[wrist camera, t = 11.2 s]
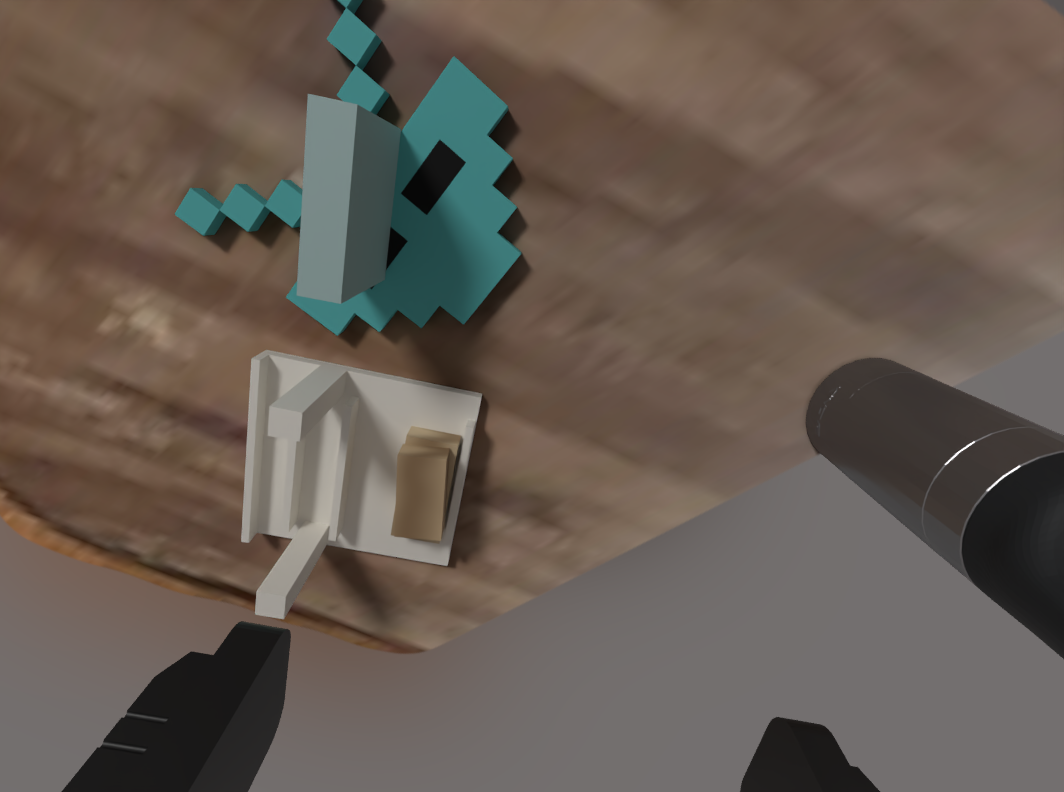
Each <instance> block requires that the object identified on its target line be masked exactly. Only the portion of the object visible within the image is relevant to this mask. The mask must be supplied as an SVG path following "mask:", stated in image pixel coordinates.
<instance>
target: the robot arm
mask: <svg viewBox="0 0 1064 792" xmlns="http://www.w3.org/2000/svg"><path fill="white" fill-rule="evenodd" d="M806 427H807V433H808V436H809V438H810V440H811V443H812V444H813V445H814V447H815V448H816V449H817V450H818V451H819V452H820V453H821V454H822V455H823V456H824V457H826V458H827V459H828V460H829V461H830V462H831V463H833V464H834V465H835V466H836V467H837V468H838V469H840V470H841V471H842V472H843V473H844V474H845V475H846V476H848V477H849V478H850V479H851V480H852V481H854V482H855V483H856V484H857V485H858V486H859V487H860V488H861V489H863V490H864V491H865V492H866V493H867V494H868V495H870V496H871V497H872V498H873V499H874V500H876V501H877V502H878V503H879V504H881V506H883V507H884V508H885V509H886V510H887V511H888V512H890V513H891V514H892V515H893V516H894V517H895V518H897V519H898V520H899V521H900V522H901V523H903V524H904V525H905V526H906V527H907V528H908V529H910V530H911V531H912V532H913V533H914V534H915V535H916V536H918V537H919V538H920V539H921V540H922V541H923V542H925V543H926V544H927V545H928V546H929V547H930V548H932V549H933V550H934V551H935V552H936V553H938V554H939V555H940V556H941V557H943V558H944V559H945V560H946V561H947V562H949V563H950V564H951V565H952V566H953V567H954V568H955V569H957V570H958V571H959V572H960V573H961V574H962V575H964V576H965V577H966V578H967V579H968V580H969V581H971V582H972V583H973V584H974V585H975V586H977V587H978V588H979V589H980V590H981V591H982V592H984V593H985V594H986V595H987V596H988V597H990V598H991V599H992V600H993V601H994V602H996V603H997V604H998V605H999V606H1001V607H1002V608H1003V609H1004V610H1006V611H1007V612H1008V613H1009V614H1010V615H1012V616H1013V617H1014V618H1015V619H1017V620H1018V621H1019V622H1020V623H1022V624H1023V625H1024V626H1025V627H1026V628H1028V629H1029V630H1030V631H1031V632H1033V633H1034V634H1035V635H1036V636H1037V637H1039V638H1040V639H1041V640H1042V641H1043V642H1044V643H1046V644H1047V645H1048V646H1049V647H1050V648H1051V649H1053V650H1054V651H1055V652H1056V653H1057V654H1059V655H1060V656H1061V657H1062V658H1063V659H1064V435H1062V434H1059V433H1057V432H1054V431H1052V430H1049V429H1047V428H1045V427H1043V426H1040V425H1038V424H1036V423H1034V422H1031V421H1029V420H1027V419H1024V418H1022V417H1020V416H1017V415H1015V414H1013V413H1011V412H1008V411H1006V410H1004V409H1002V408H999V407H997V406H995V405H992V404H990V403H988V402H985V401H983V400H981V399H979V398H976V397H974V396H972V395H969V394H967V393H965V392H962V391H960V390H958V389H956V388H953V387H951V386H949V385H946V384H944V383H942V382H940V381H937V380H935V379H933V378H931V377H929V376H926V375H924V374H922V373H919V372H917V371H915V370H912V369H910V368H908V367H906V366H903V365H901V364H899V363H896V362H894V361H891V360H887V359H882V358H867V359H862V360H857V361H854V362H852V363H849V364H846V365H844V366H842V367H841V368H839V369H838V370H836V371H834V372H833V373H832V374H831V375H829V376H828V377H827V378H826V379H825V380H824V381H823V382H822V383H821V384H820V386H819V387H818V388H817V390H816V391H815V393H814V395H813V397H812V398H811V400H810V403H809V406H808V410H807V415H806ZM290 638H291V634H290V630H288V629H283V628H277V627H271V626H265V625H260V624H254V623H248V622H243V621H241V622H239V623H238V624H236V626H235V627H234V628H233V629H232V630H231V632H230V633H229V634H228V636H227V637H226V639H225V640H224V642H223V643H222V644H221V646H220V647H219V648H218V650H217V651H216V653H215V654H214V655H209V654H203V653H197V652H190V653H188V654H187V655H185V656H184V657H183V658H181V659H180V660H179V661H177V662H175V663H174V664H172V665H171V666H170V667H168V668H167V669H165V670H164V671H162V672H161V673H160V674H158V675H157V676H155V677H154V678H153V679H152V681H151V682H150V683H149V684H148V686H147V687H146V688H145V689H144V691H143V692H142V693H141V694H140V696H139V697H138V698H137V699H136V701H135V702H134V703H133V704H132V705H131V707H130V708H129V709H128V710H127V714H126V716H125V717H124V718H121V719H120V720H119V722H118V723H117V724H116V725H115V727H114V728H113V729H112V730H111V731H110V733H109V734H108V735H107V736H106V738H105V739H104V741H103V744H102V746H101V747H100V748H97V749H96V750H95V751H94V753H93V754H92V755H91V756H90V757H89V759H88V760H87V761H86V762H85V764H84V765H83V766H82V767H81V769H80V770H79V771H78V772H77V773H76V775H75V776H74V777H73V778H72V780H71V781H70V782H69V783H68V785H67V786H66V787H65V788H64V790H63V791H62V792H248V790H249V788H250V786H251V784H252V782H253V780H254V778H255V776H256V774H257V772H258V770H259V768H260V766H261V764H262V762H263V760H264V758H265V756H266V754H267V752H268V750H269V747H270V745H271V743H272V741H273V738H274V736H275V733H276V730H277V728H278V725H279V721H280V718H281V714H282V710H283V706H284V700H285V690H286V680H287V670H288V660H289V649H290ZM740 792H880V791H879V790H878V789H877V788H876V787H875V786H874V785H873V783H872V782H871V781H870V780H869V779H868V778H867V777H866V776H865V775H864V774H863V773H862V771H861V770H860V769H859V768H858V767H853V766H850V765H849V763H848V761H847V759H846V758H845V756H844V754H843V752H842V750H841V749H840V747H839V745H838V743H837V742H836V740H835V738H834V736H833V735H832V733H831V732H830V731H829V730H828V729H827V728H826V727H825V726H823V725H820V724H814V723H809V722H803V721H798V720H792V719H786V718H780V717H776V718H774V719H772V721H771V722H770V723H769V725H768V727H767V729H766V731H765V733H764V735H763V737H762V740H761V742H760V744H759V746H758V748H757V750H756V753H755V754H754V756H753V759H752V761H751V763H750V765H749V767H748V769H747V772H746V773H745V776H744V778H743V781H742V785H741V791H740Z"/></svg>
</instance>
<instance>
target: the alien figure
mask: <svg viewBox="0 0 1064 792" xmlns="http://www.w3.org/2000/svg"><path fill="white" fill-rule="evenodd" d="M337 1H338V2H339V3H340V4H341V5H343V6H344V7H345V8H346V9H345V11H344V12H343V14H342V16H341V17H340V19H339V20H338V22H337V24H336V25H335V27H334V28H333V30H332V32H331V33H330V35H329V36H328V38H327V40H328V41H329V42H330V43H331V44H332V45H334V46H335V47H336V48H337V49H338V50H339V51H340V52H341V53H343V54H344V55H345V56H346V57H347V58H348V59H349V60H351V61H352V62H353V63H354V64H355V65H356V66H355V68H354V69H353V71H352V72H351V74H350V75H349V77H348V79H347V80H346V82H345V83H344V85H343V86H342V88H341V89H340V91H339V92H338V94H337V96H338V97H339V98H341V99H342V100H343V101H344V102H349V103H353V104H358V105H359V106H361V107H363V108H365V109H366V110H368V111H370V112H372V113H373V114H375V115H377V113H378V112H379V110H380V109H381V107H382V106H383V104H384V103H385V101H386V100H387V98H388V97H389V96H390V94H389V93H387V92H386V91H385V90H384V89H383V88H382V87H381V86H379V85H378V84H377V83H376V82H375V81H374V80H373V79H372V78H370V77H369V76H368V75H367V74H366V73H365V72H364V71H363V69H364V67H365V66H366V64H367V63H368V61H369V60H370V58H371V57H372V55H373V54H374V52H375V51H376V49H377V48H378V46H379V45H380V43H381V40H380V38H379V37H378V36H377V35H376V34H375V33H374V32H373V31H372V30H370V29H369V28H368V27H367V26H366V25H365V24H364V23H363V22H362V21H361V20H359V19H358V18H357V17H356V16H355V15H354V14H355V12H356V10H357V9H358V7H359V6H360V4H361V3H362V1H363V0H337ZM508 110H509V109H508V106H507V105H506V104H505V103H504V102H503V101H502V100H501V99H500V98H499V97H497V96H496V95H495V94H494V93H493V92H492V91H491V90H490V89H489V88H488V87H487V86H486V85H485V84H483V83H482V82H481V81H480V80H479V79H478V78H477V77H476V76H475V75H474V74H473V73H472V72H471V71H469V70H468V69H467V68H466V67H465V66H464V65H463V64H462V63H461V62H460V61H459V60H458V59H457V58H455V57H453V58H452V59H451V61H450V62H449V64H448V65H447V67H446V68H445V69H444V71H443V72H442V74H441V75H440V77H439V78H438V80H437V81H436V82H435V84H434V85H433V87H432V88H431V90H430V91H429V92H428V94H427V95H426V97H425V98H424V100H423V101H422V102H421V104H420V105H419V107H418V108H417V110H416V111H415V113H414V114H413V115H412V117H411V118H410V120H409V121H408V123H407V124H406V125H405V127H404V128H403V130H402V131H401V134H400V143H399V153H398V162H397V171H396V180H395V190H394V199H393V208H392V217H391V227H390V236H389V245H388V255H387V264H386V273H385V280H383V281H382V282H380V283H378V284H376V285H374V286H372V287H371V288H369V289H367V290H365V291H363V292H362V293H360V294H358V295H356V296H354V297H352V298H351V299H349V300H347V301H345V302H343V303H341V304H339V303H333V302H328V301H323V300H318V299H312V298H307V297H302V296H297V282H296V283H295V285H294V286H293V288H292V289H291V291H290V292H289V293H288V295H287V296H286V298H287V299H289V300H290V301H292V302H293V303H294V304H296V305H297V306H298V307H300V308H301V309H302V310H304V311H305V312H306V313H308V314H309V315H310V316H312V317H313V318H314V319H316V320H317V321H318V322H320V323H321V324H322V325H324V326H325V327H326V328H328V329H329V330H330V331H332V332H333V333H334V334H336V335H337V336H338V335H339V334H341V333H342V332H343V331H344V330H345V329H346V328H347V326H348V325H349V324H350V322H351V321H352V319H353V318H354V317H355V315H358V316H359V317H360V318H362V319H363V320H364V321H366V322H367V323H368V324H369V325H371V326H372V327H373V328H375V329H376V330H377V331H379V332H380V331H381V330H382V329H383V328H384V327H385V326H386V325H387V324H388V322H389V321H390V320H391V318H392V317H393V316H394V314H395V313H396V312H397V310H399V311H400V312H401V313H402V314H404V315H405V316H406V317H407V318H409V319H410V320H411V321H413V322H414V323H415V324H416V325H418V326H419V327H420V328H422V327H423V326H424V325H425V323H426V322H427V321H428V320H429V318H430V317H431V316H432V315H433V313H434V312H435V311H436V310H437V308H438V307H439V306H441V307H442V308H443V309H445V310H446V311H447V312H448V313H450V314H451V315H452V316H453V317H455V318H456V319H457V320H458V321H460V322H461V323H462V324H463V325H464V324H465V322H466V321H467V320H468V319H469V318H470V316H471V315H472V314H473V313H474V311H475V310H476V309H477V308H478V306H479V305H480V304H481V303H482V302H483V300H484V299H485V298H486V297H487V295H488V294H489V293H490V292H491V290H492V289H493V288H494V287H495V285H496V284H497V283H498V282H499V281H500V279H501V278H502V277H503V276H504V274H505V273H506V272H507V271H508V269H509V268H510V267H511V266H512V265H513V263H514V262H515V261H516V260H517V258H518V257H519V256H520V255H521V251H520V250H518V249H517V248H516V247H515V246H514V245H513V244H511V243H510V242H509V241H508V240H507V239H506V238H504V237H503V236H502V235H501V234H500V233H499V232H498V231H499V230H500V228H501V227H502V226H503V225H504V223H505V222H506V221H507V219H508V218H509V217H510V216H511V214H512V213H513V212H514V211H515V209H516V208H517V206H515V205H514V204H513V203H512V202H511V201H510V200H509V199H508V198H506V197H505V196H504V195H503V194H502V193H501V192H500V191H498V190H497V189H496V188H495V187H494V186H493V185H494V184H495V183H496V181H497V180H498V179H499V177H500V176H501V175H502V173H503V172H504V171H505V170H506V168H507V167H508V166H509V164H510V163H511V162H512V160H513V158H512V157H511V156H510V155H509V154H507V153H506V152H505V151H504V150H503V149H502V148H501V147H500V146H499V145H497V144H496V143H495V142H494V141H493V140H492V139H491V138H490V137H489V135H490V134H491V133H492V131H493V130H494V129H495V127H496V126H497V125H498V123H499V122H500V121H501V119H502V118H503V117H504V115H505V114H506V113H507V111H508ZM302 192H303V190H302V189H301V188H300V187H298V186H297V185H296V184H295V183H293V182H292V181H291V180H281V182H280V183H279V185H278V186H277V188H276V189H275V191H274V192H273V194H272V195H271V197H270V199H269V200H268V201H267V200H266V199H265V198H263V197H262V196H261V195H259V194H258V193H257V192H256V191H254V190H253V189H252V188H251V187H249V186H248V185H247V184H236V185H235V186H234V188H233V189H232V191H231V193H230V194H229V196H228V197H227V199H226V201H225V202H224V204H222V203H221V202H220V201H218V200H217V199H216V198H214V197H213V196H212V195H210V194H209V193H208V192H207V191H205V190H204V189H203V188H190V190H189V191H188V193H187V195H186V196H185V198H184V199H183V201H182V203H181V204H180V206H179V208H178V209H177V211H176V213H175V215H176V216H178V217H179V218H180V219H182V220H183V221H184V222H186V223H187V224H188V225H190V226H191V227H192V228H194V229H195V230H196V231H198V232H199V233H200V234H202V235H203V236H206V235H215V233H216V232H217V230H218V229H219V227H220V226H221V224H222V222H223V221H224V219H225V218H226V216H228V217H229V218H230V219H232V220H233V221H234V222H236V223H237V224H238V225H240V226H241V227H242V228H244V229H245V230H246V231H248V232H250V231H258V229H259V228H260V226H261V225H262V223H263V222H264V220H265V219H266V217H267V216H268V214H269V213H270V211H272V212H273V213H274V214H275V215H277V216H278V217H279V218H281V219H282V220H283V221H284V222H286V223H287V224H288V225H290V226H291V227H292V228H294V227H301V209H302Z"/></svg>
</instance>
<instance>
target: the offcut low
mask: <svg viewBox="0 0 1064 792" xmlns="http://www.w3.org/2000/svg"><path fill="white" fill-rule="evenodd" d="M460 438H461V435H456V434H451V433H446V432H441V431H435V430H430V429H425V428H420V427H415V426H411V428H410V430H409V432H408V434H407V436H406V441H405V444H411V445H421V446H431V447H442V448H450V457H449V471H448V485H447V499H446V511H447V506H448V500H449V495H450V490H451V485H452V480H453V475H454V469H455V464H456V459H457V454H458V449H459V444H460ZM395 507H396V504H395ZM445 516H446V514H445ZM391 535H392V536H394V535H395V511H394V517H393V523H392V530H391ZM409 539H414V538H409ZM414 540H420V541H425V542H431V543H437V544H439V543H440V541H436V540H425V539H414Z"/></svg>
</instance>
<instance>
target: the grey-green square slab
mask: <svg viewBox="0 0 1064 792" xmlns="http://www.w3.org/2000/svg"><path fill="white" fill-rule="evenodd" d="M400 134H401V129H400V128H398V127H396V126H394V125H393V124H391V123H389V122H387V121H386V120H384V119H382V118H380V117H379V116H377V115H375V114H373V113H372V112H370V111H368V110H366V109H365V108H363V107H361V106H359V105H358V104H353V103H349V102H344V101H339V100H335V99H330V98H325V97H321V96H316V95H311V94H308V104H307V121H306V139H305V156H304V174H303V192H302V209H301V227H300V245H299V262H298V280H297V296H302V297H307V298H312V299H318V300H323V301H328V302H333V303H339V304H341V303H343V302H345V301H347V300H349V299H351V298H352V297H354V296H356V295H358V294H360V293H362V292H363V291H365V290H367V289H369V288H371V287H372V286H374V285H376V284H378V283H380V282H382V281H383V280H385V273H386V264H387V255H388V245H389V236H390V227H391V217H392V208H393V199H394V190H395V180H396V171H397V162H398V153H399V143H400Z"/></svg>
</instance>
